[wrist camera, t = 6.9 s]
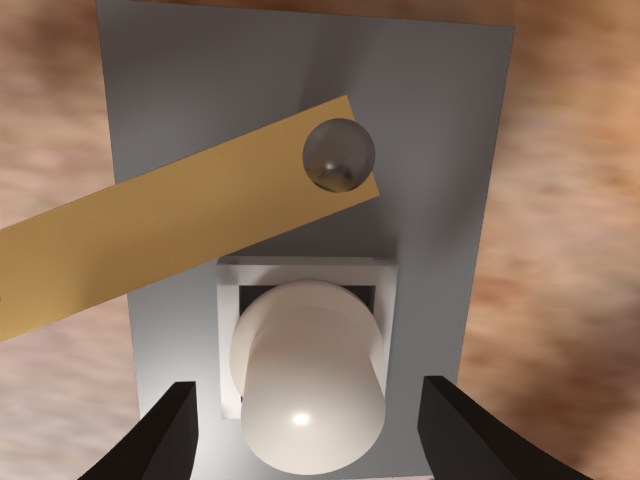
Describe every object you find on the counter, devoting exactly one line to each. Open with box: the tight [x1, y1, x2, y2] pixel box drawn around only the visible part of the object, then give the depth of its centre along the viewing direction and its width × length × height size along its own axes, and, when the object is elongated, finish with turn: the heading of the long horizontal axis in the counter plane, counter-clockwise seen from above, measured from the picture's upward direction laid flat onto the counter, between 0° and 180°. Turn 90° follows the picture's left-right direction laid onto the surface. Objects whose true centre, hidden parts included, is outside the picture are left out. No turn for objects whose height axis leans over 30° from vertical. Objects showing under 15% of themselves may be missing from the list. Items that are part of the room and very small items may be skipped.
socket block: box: [96, 0, 515, 480], centre depth 17 cm, size 20×14×3 cm
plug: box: [229, 280, 386, 475], centre depth 15 cm, size 6×6×5 cm
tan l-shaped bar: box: [0, 95, 380, 342], centre depth 11 cm, size 15×2×7 cm, turn 111°
